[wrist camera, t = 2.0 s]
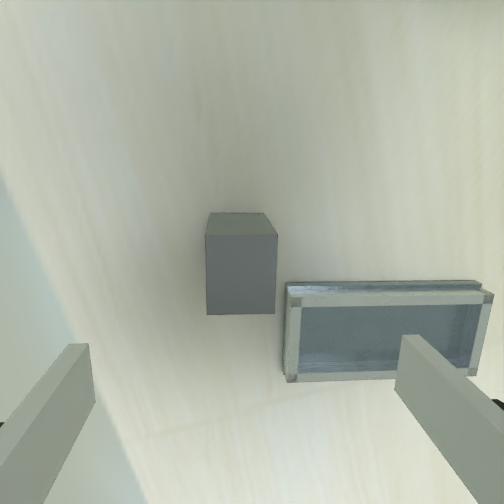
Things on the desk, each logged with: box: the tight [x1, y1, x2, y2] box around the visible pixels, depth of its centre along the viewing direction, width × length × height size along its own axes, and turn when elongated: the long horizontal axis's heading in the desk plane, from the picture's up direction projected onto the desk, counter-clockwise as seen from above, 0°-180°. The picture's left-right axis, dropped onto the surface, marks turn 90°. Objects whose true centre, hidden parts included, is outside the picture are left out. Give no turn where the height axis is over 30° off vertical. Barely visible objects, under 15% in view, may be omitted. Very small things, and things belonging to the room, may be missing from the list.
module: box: [205, 213, 278, 315], centre depth 29 cm, size 6×5×9 cm
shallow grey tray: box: [282, 280, 494, 383], centre depth 36 cm, size 10×20×3 cm, turn 89°
